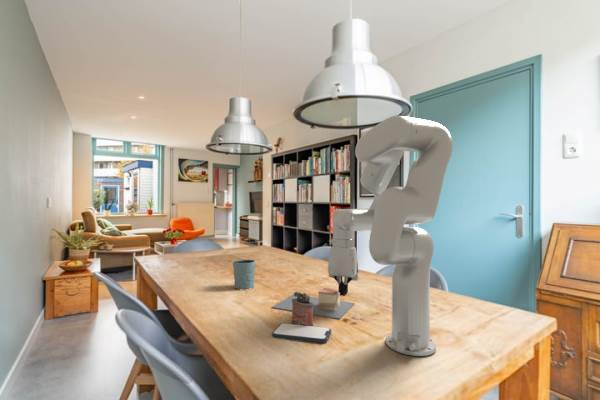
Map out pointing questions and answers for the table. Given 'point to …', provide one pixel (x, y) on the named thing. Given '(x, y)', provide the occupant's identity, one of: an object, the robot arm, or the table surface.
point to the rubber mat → (317, 307)
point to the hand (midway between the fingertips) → (343, 294)
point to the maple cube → (329, 299)
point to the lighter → (302, 310)
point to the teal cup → (244, 273)
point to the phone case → (302, 333)
